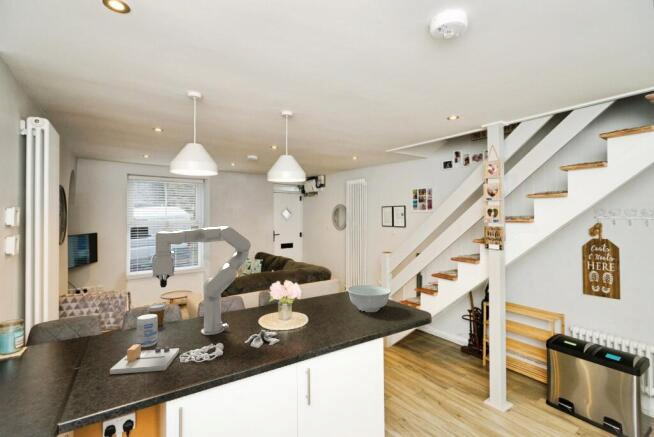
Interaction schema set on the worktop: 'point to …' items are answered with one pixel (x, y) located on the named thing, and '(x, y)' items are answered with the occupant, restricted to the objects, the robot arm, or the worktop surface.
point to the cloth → (262, 338)
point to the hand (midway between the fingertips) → (163, 286)
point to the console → (147, 361)
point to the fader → (134, 352)
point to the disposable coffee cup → (158, 312)
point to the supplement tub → (147, 330)
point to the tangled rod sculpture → (204, 356)
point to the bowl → (368, 297)
